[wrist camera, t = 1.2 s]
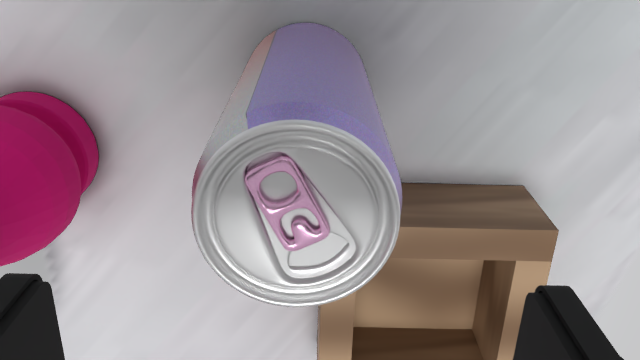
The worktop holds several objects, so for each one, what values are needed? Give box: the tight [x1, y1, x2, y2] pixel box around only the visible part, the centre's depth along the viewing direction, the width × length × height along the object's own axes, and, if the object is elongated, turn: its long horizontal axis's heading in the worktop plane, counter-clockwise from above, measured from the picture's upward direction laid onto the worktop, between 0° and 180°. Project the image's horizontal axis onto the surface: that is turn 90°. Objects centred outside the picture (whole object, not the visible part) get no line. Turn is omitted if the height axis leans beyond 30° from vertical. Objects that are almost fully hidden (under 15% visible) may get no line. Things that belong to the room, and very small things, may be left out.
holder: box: [317, 183, 559, 360], centre depth 31 cm, size 11×11×5 cm
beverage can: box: [191, 23, 402, 307], centre depth 22 cm, size 6×6×15 cm
